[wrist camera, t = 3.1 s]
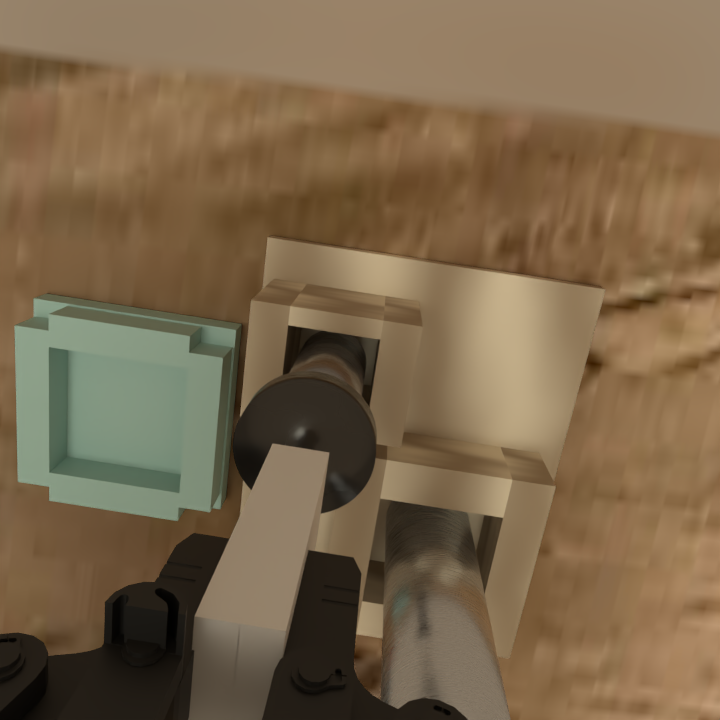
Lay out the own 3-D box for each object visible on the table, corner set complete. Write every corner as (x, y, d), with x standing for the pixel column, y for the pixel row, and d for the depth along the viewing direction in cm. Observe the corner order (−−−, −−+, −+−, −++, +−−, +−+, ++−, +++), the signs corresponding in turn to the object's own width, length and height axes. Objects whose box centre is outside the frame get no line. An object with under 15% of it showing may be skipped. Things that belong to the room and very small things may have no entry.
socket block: (234, 588, 36) (206, 664, 31) (270, 235, 30) (242, 251, 25) (508, 632, 36) (528, 716, 31) (600, 286, 30) (646, 313, 25)
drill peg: (380, 550, 34) (369, 796, 21) (393, 478, 33) (390, 692, 20) (459, 562, 34) (500, 817, 21) (476, 491, 33) (531, 714, 20)
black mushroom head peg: (278, 399, 29) (227, 502, 20) (289, 306, 27) (239, 372, 19) (374, 414, 29) (364, 524, 20) (389, 322, 27) (386, 396, 19)
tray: (47, 470, 35) (16, 497, 32) (46, 293, 32) (12, 306, 29) (225, 498, 35) (210, 528, 32) (242, 323, 32) (226, 339, 29)
